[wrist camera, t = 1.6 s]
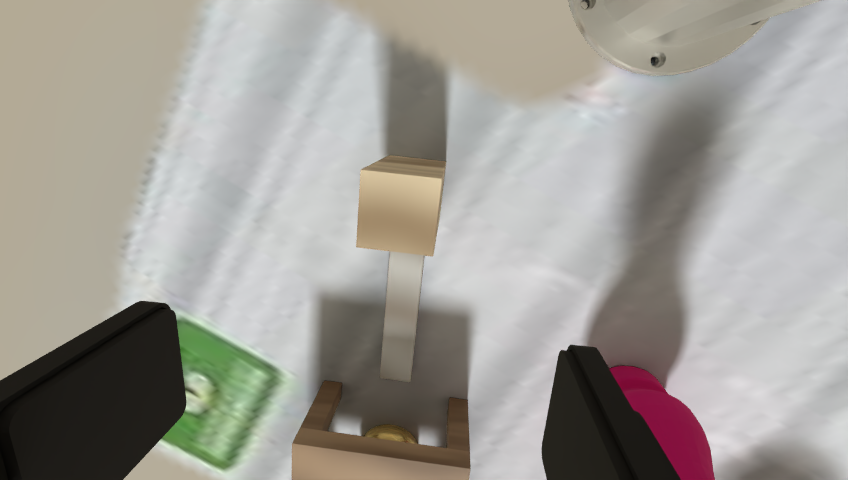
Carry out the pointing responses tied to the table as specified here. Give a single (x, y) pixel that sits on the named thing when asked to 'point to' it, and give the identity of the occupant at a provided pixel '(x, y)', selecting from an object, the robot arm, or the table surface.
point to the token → (391, 433)
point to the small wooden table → (376, 448)
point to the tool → (400, 244)
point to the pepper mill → (668, 423)
